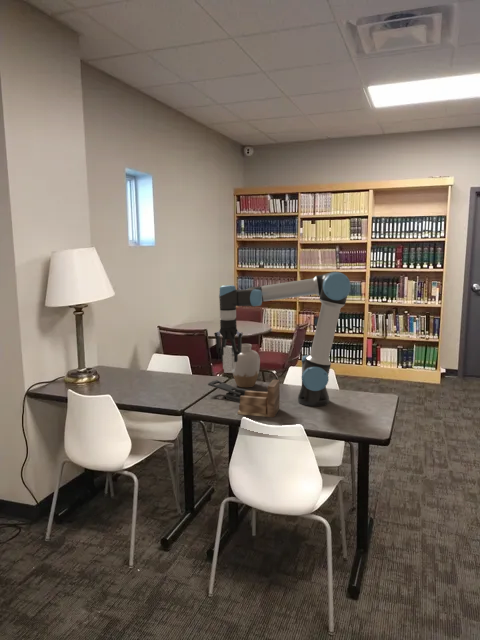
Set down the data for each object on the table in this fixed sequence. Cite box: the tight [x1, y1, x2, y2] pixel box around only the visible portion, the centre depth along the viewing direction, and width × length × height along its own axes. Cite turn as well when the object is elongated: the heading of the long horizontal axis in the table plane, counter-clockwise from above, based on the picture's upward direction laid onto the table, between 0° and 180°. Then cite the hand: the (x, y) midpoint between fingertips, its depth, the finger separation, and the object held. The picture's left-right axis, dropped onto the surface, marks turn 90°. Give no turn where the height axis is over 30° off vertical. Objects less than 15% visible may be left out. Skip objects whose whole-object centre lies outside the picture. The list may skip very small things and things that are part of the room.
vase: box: [232, 343, 261, 389], centre depth 261 cm, size 16×16×23 cm
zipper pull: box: [207, 379, 251, 403], centre depth 241 cm, size 9×7×25 cm
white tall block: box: [223, 345, 235, 374], centre depth 222 cm, size 4×4×12 cm
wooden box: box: [237, 379, 281, 418], centre depth 218 cm, size 17×12×14 cm
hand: (229, 368), depth 222 cm, fingers closed on white tall block, 4 cm apart
